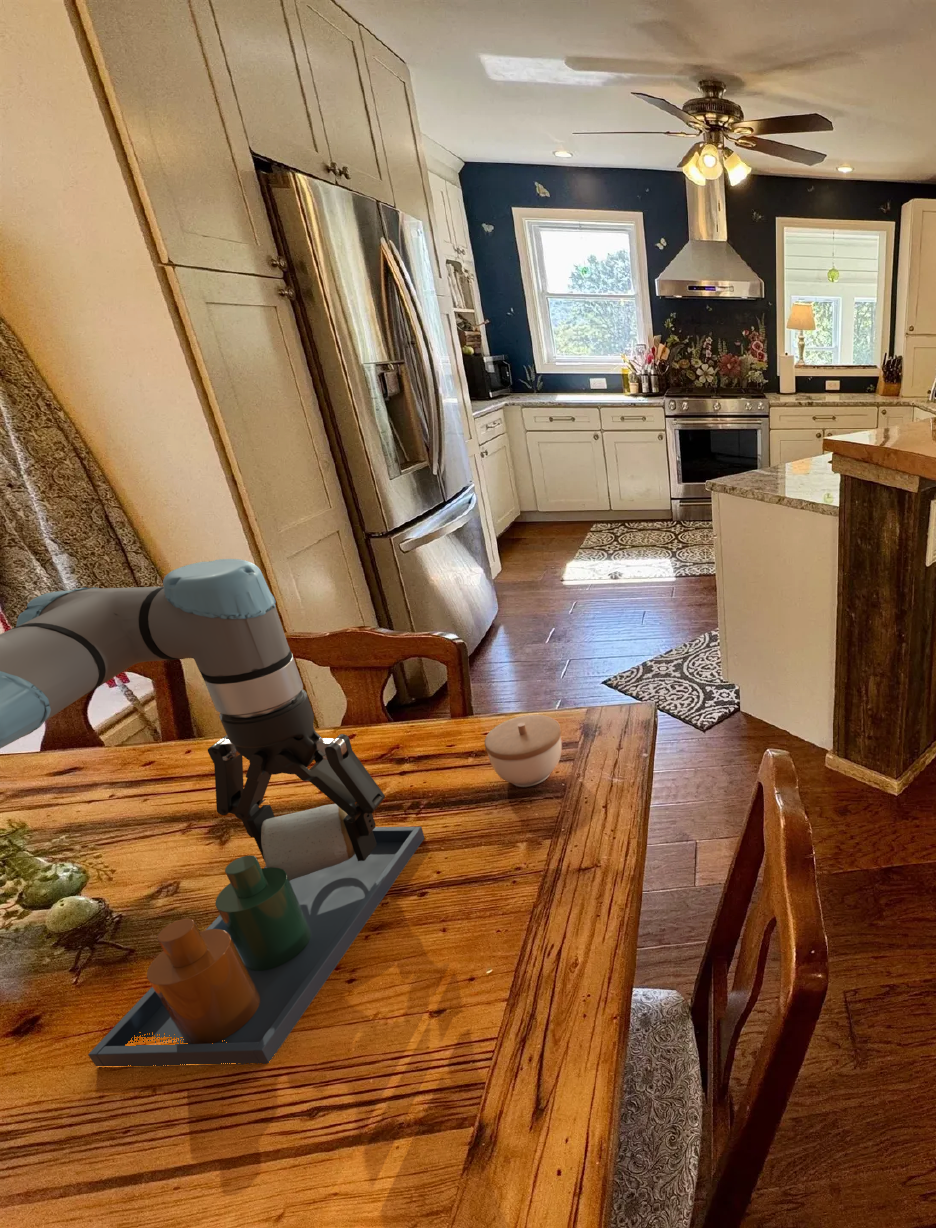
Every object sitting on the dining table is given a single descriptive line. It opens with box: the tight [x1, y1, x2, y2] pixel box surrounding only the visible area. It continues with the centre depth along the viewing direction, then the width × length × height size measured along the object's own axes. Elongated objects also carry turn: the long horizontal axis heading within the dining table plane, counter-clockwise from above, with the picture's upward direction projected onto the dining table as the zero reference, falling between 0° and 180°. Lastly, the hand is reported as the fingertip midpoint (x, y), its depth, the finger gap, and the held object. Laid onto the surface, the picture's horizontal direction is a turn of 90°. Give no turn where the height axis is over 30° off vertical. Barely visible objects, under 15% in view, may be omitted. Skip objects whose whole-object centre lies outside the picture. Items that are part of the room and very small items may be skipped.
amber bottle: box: [146, 918, 260, 1044], centre depth 64 cm, size 6×6×12 cm
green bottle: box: [214, 854, 311, 971], centre depth 71 cm, size 6×6×12 cm
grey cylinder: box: [261, 803, 355, 880], centre depth 79 cm, size 11×8×8 cm
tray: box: [87, 826, 425, 1067], centre depth 75 cm, size 16×30×3 cm, turn 3°
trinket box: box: [484, 714, 563, 788], centre depth 101 cm, size 11×11×9 cm
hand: (322, 853), depth 80 cm, fingers closed on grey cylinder, 10 cm apart
